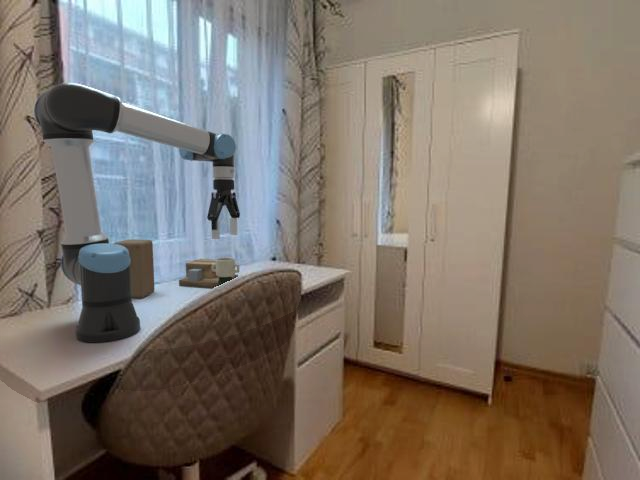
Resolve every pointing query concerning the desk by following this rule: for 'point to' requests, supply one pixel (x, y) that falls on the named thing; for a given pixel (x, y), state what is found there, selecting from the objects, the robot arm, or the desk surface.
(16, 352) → the desk surface
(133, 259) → the wooden block
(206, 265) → the walnut stand
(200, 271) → the grey cube
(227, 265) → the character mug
